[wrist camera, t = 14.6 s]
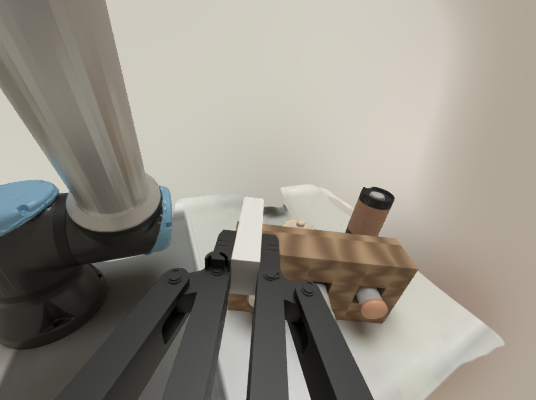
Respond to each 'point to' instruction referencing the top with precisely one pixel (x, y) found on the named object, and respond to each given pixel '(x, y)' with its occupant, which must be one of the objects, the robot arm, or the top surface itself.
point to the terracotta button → (371, 302)
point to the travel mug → (370, 212)
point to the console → (340, 267)
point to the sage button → (325, 294)
